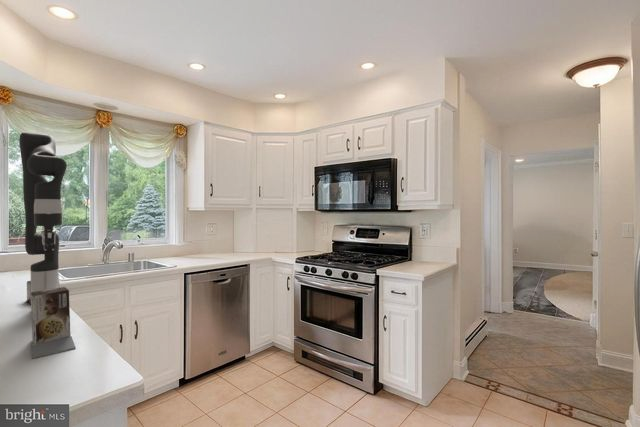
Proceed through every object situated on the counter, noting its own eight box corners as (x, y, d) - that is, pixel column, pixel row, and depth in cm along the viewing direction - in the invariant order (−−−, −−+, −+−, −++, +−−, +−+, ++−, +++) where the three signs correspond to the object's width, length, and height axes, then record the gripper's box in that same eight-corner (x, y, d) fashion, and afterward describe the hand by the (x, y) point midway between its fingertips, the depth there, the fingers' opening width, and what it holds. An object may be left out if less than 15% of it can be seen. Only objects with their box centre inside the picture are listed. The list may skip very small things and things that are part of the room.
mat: (31, 346, 100) (31, 345, 100) (71, 337, 107) (71, 336, 107) (32, 359, 92) (32, 357, 92) (75, 348, 98) (75, 347, 98)
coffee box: (65, 331, 112) (65, 286, 112) (70, 336, 108) (70, 289, 108) (31, 340, 105) (30, 291, 105) (35, 345, 101) (34, 294, 101)
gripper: (33, 212, 115) (34, 259, 115) (34, 212, 105) (35, 264, 105) (60, 212, 120) (60, 257, 120) (63, 212, 110) (64, 261, 110)
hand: (49, 260), depth 113 cm, fingers open, 4 cm apart
